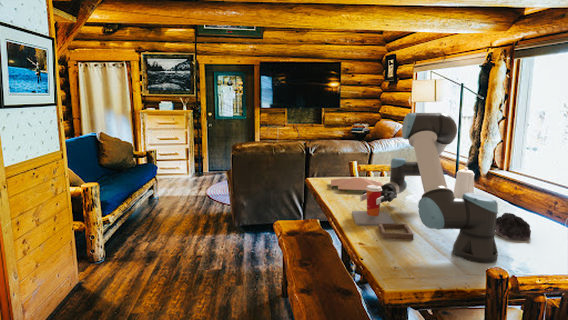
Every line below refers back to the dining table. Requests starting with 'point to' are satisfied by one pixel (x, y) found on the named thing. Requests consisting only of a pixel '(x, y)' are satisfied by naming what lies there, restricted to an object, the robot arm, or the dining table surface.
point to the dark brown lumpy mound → (512, 227)
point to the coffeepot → (464, 182)
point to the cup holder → (399, 236)
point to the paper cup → (373, 199)
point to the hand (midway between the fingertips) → (368, 200)
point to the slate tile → (371, 218)
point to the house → (354, 184)
